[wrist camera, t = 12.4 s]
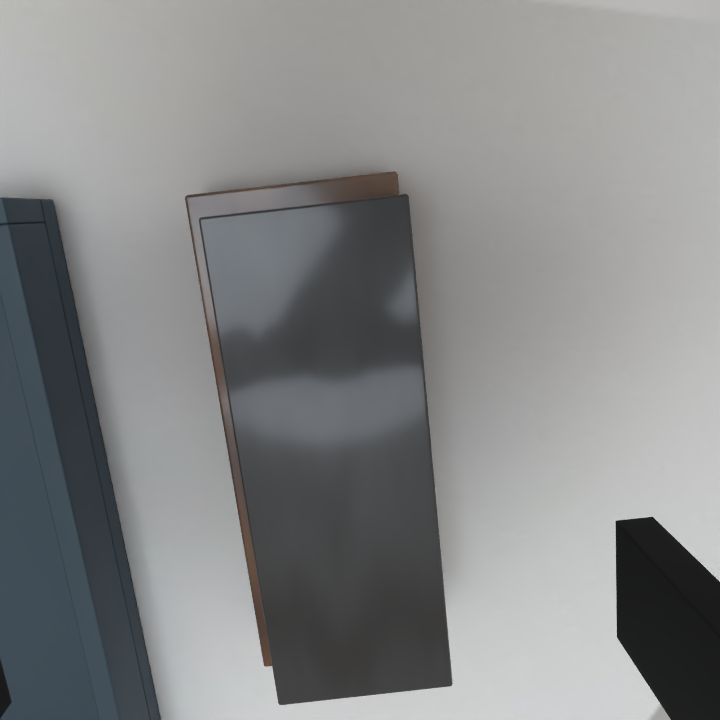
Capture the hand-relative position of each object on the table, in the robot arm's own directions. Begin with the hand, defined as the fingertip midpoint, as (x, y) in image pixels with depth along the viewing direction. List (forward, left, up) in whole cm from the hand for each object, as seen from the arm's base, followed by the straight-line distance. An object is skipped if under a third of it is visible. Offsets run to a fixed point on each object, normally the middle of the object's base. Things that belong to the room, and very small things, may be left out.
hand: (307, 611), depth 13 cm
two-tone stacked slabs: (0, +4, -10) cm, 10 cm away
